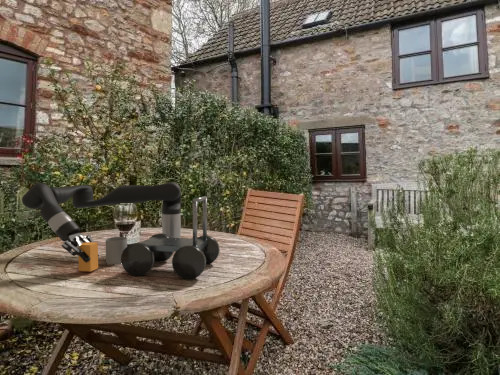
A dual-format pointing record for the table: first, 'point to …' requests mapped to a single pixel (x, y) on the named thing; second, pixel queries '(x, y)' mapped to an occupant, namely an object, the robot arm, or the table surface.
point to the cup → (115, 249)
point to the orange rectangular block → (92, 252)
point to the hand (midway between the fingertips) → (92, 258)
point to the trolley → (186, 251)
